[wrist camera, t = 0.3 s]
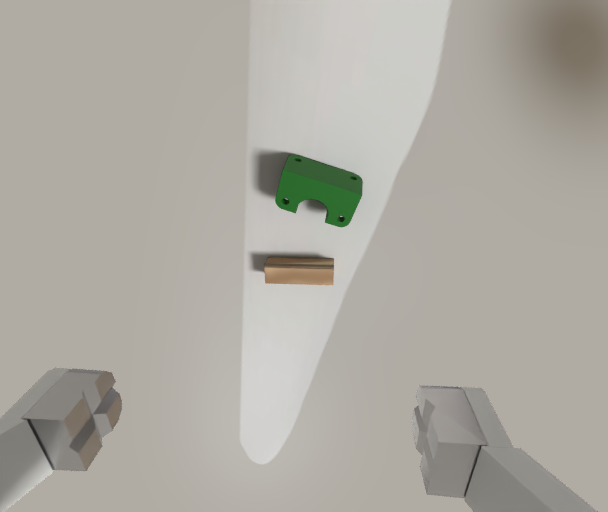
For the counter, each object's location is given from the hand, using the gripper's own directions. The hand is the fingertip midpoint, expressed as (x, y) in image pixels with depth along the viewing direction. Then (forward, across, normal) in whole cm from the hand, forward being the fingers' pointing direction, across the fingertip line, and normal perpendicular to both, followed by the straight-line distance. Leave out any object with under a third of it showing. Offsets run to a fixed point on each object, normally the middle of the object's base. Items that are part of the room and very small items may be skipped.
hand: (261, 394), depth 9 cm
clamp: (+46, 0, +6) cm, 46 cm away
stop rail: (+45, +3, +20) cm, 50 cm away
